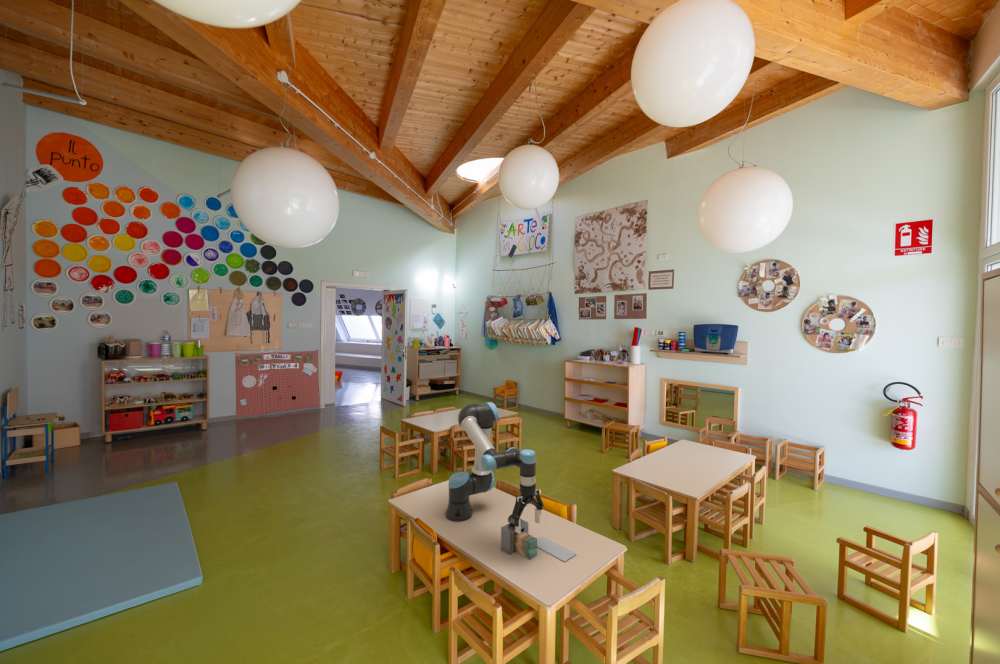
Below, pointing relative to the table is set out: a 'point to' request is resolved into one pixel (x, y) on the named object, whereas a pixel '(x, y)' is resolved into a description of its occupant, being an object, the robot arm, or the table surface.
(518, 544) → the plug
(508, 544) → the housing
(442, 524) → the table surface
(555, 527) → the table surface
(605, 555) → the table surface
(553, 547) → the mat
